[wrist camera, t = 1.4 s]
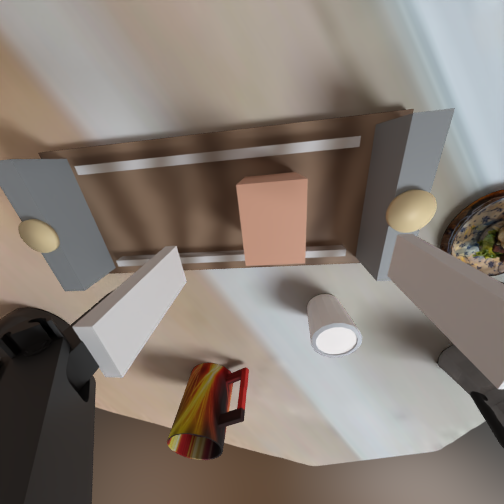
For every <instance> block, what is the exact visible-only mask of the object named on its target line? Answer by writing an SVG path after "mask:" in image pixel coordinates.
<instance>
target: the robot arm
mask: <svg viewBox="0 0 504 504" xmlns="http://www.w3.org/2000/svg"><path fill="white" fill-rule="evenodd" d="M387 276H388V277H389V278H390V279H391V280H392V281H393V282H394V283H395V284H396V285H397V286H398V287H399V289H400V290H401V291H402V292H403V293H404V294H405V295H406V296H407V297H408V298H409V299H410V300H411V301H412V302H413V303H414V304H415V305H416V306H417V307H418V308H419V309H420V310H421V311H422V312H423V313H424V314H425V315H426V316H427V317H428V318H429V319H430V320H431V321H432V322H433V323H434V324H435V325H436V326H437V327H438V328H439V329H440V330H441V332H442V333H443V334H444V335H445V336H446V337H447V338H448V339H449V340H450V341H451V342H452V343H453V344H454V345H455V346H456V347H457V348H458V349H459V350H460V351H461V352H462V353H463V354H464V355H465V356H466V357H467V358H468V359H469V360H470V361H471V362H472V363H473V364H474V365H475V366H476V367H477V368H478V369H479V370H480V371H481V372H482V373H483V375H484V376H485V377H486V378H487V379H488V380H489V381H490V382H491V383H492V384H493V385H494V386H495V387H496V388H497V389H504V283H503V282H500V281H498V280H496V279H494V278H492V277H490V276H488V275H486V274H485V273H483V272H481V271H479V270H477V269H475V268H474V267H472V266H470V265H468V264H466V263H465V262H463V261H461V260H459V259H457V258H455V257H454V256H452V255H450V254H448V253H446V252H444V251H443V250H441V249H439V248H437V247H435V246H433V245H432V244H430V243H428V242H426V241H424V240H422V239H421V238H419V237H417V236H415V235H413V234H399V235H397V238H396V242H395V246H394V250H393V254H392V258H391V262H390V266H389V271H388V275H387ZM186 282H187V281H186V278H185V274H184V271H183V267H182V263H181V260H180V256H179V253H178V249H177V246H165V247H164V248H163V249H162V250H161V251H159V252H158V253H157V254H156V255H155V256H154V257H152V258H151V259H150V260H149V261H148V262H147V263H145V264H144V265H143V266H142V267H141V268H140V269H139V270H137V271H136V272H135V273H134V274H133V275H132V276H130V277H129V278H128V279H127V280H126V281H125V282H123V283H122V284H121V285H120V286H119V287H118V288H116V289H115V290H113V291H112V292H110V293H108V294H107V295H106V296H104V297H103V298H102V299H101V300H100V301H99V303H96V304H95V305H94V306H93V307H91V309H89V310H88V311H87V312H85V313H84V314H83V315H82V316H81V317H80V318H78V319H77V320H76V321H75V322H74V323H72V324H71V325H70V326H69V325H68V324H67V323H66V322H64V321H63V320H61V319H60V318H58V317H56V316H55V315H52V314H50V313H48V312H45V311H42V310H39V309H34V308H20V309H16V310H14V311H13V312H11V313H9V314H8V315H6V316H4V317H3V318H1V319H0V504H92V478H93V477H92V476H93V447H94V418H95V416H94V415H95V388H96V382H95V378H94V377H93V374H94V373H95V372H96V370H97V369H98V368H100V370H101V371H102V373H103V374H104V376H105V377H122V378H123V377H124V375H125V374H126V372H127V371H128V369H129V368H130V366H131V365H132V363H133V361H134V360H135V358H136V357H137V355H138V354H139V352H140V351H141V349H142V348H143V346H144V345H145V343H146V342H147V340H148V339H149V337H150V336H151V334H152V333H153V331H154V330H155V328H156V327H157V325H158V324H159V322H160V321H161V319H162V318H163V316H164V315H165V313H166V312H167V310H168V309H169V307H170V306H171V304H172V303H173V301H174V300H175V298H176V297H177V295H178V294H179V292H180V291H181V289H182V288H183V286H184V285H185V283H186Z"/></svg>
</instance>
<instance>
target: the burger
mask: <svg viewBox="0 0 504 504" xmlns="http://www.w3.org/2000/svg"><path fill="white" fill-rule="evenodd" d="M442 249H443V251H444V252H446V253H448V254H450V255H452V256H454V257H455V258H457V259H459V260H461V261H463V262H465V263H466V264H468V265H470V266H472V267H474V268H475V269H477V270H479V271H481V272H483V273H485V274H486V275H488V276H496V275H500V274H503V273H504V190H500V191H496V192H493V193H490V194H488V195H486V196H484V197H482V198H480V199H478V200H477V201H475V202H473V203H471V204H470V205H469V206H468V207H466V208H465V209H464V210H462V211H461V212H460V213H459V214H458V215H457V216H456V217H455V218H454V219H453V221H452V222H451V223H450V225H449V226H448V227H447V229H446V231H445V233H444V235H443V238H442V241H441V250H442Z"/></svg>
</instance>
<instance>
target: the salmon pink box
mask: <svg viewBox="0 0 504 504" xmlns="http://www.w3.org/2000/svg"><path fill="white" fill-rule="evenodd" d="M236 189H237V197H238V205H239V214H240V222H241V230H242V239H243V247H244V255H245V264H246V266H259V265H283V264H305V255H306V222H307V189H308V179H307V178H306V177H304V176H302V175H300V174H298V173H296V172H290V173H279V174H268V175H257V176H246V177H245V178H243V179H242V180H241V181H240V182H239V183H238V184H237V185H236Z"/></svg>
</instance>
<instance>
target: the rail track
mask: <svg viewBox="0 0 504 504" xmlns="http://www.w3.org/2000/svg"><path fill="white" fill-rule="evenodd" d="M413 110H414V109H409V110H400V111H392V112H383V113H374V114H366V115H357V116H349V117H340V118H332V119H323V120H315V121H306V122H298V123H289V124H280V125H272V126H263V127H255V128H246V129H238V130H229V131H221V132H212V133H204V134H195V135H186V136H178V137H169V138H161V139H152V140H144V141H135V142H127V143H118V144H110V145H101V146H92V147H84V148H75V149H67V150H58V151H50V152H41V153H39V155H40V157H41V159H67V160H68V162H69V165H70V167H71V169H72V171H73V173H74V176H75V178H76V180H77V182H78V185H79V187H80V189H81V191H82V193H83V196H84V198H85V200H86V202H87V205H88V207H89V209H90V211H91V213H92V216H93V218H94V220H95V222H96V225H97V227H98V229H99V231H100V233H101V236H102V238H103V240H104V242H105V245H106V247H107V249H108V251H109V253H110V256H111V258H112V260H113V262H114V265H115V267H116V268H115V269H114V270H112V271H111V272H110V273H132V272H136V271H137V270H139V269H140V268H141V267H142V266H143V265H144V264H145V263H147V262H148V261H149V260H150V259H151V258H152V257H154V256H155V255H156V254H157V253H158V252H159V251H161V250H162V249H163V248H164V247H165V246H177V249H178V253H179V256H180V260H181V263H182V267H183V270H203V269H227V268H250V267H274V266H298V265H321V264H345V263H360V261H359V260H358V259H357V258H356V251H357V244H358V238H359V231H360V225H361V218H362V212H363V205H364V199H365V192H366V186H367V179H368V173H369V166H370V160H371V153H372V147H373V140H374V134H375V127H376V124H379V123H382V122H385V121H389V120H392V119H395V118H399V117H402V116H405V115H409V114H412V113H413ZM290 172H296V173H298V174H300V175H302V176H304V177H306V178H307V179H308V189H307V222H306V255H305V264H283V265H259V266H246V264H245V255H244V247H243V239H242V230H241V222H240V214H239V205H238V197H237V189H236V185H237V184H238V183H239V182H240V181H241V180H242V179H243V178H245V177H246V176H257V175H268V174H279V173H290Z"/></svg>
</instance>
